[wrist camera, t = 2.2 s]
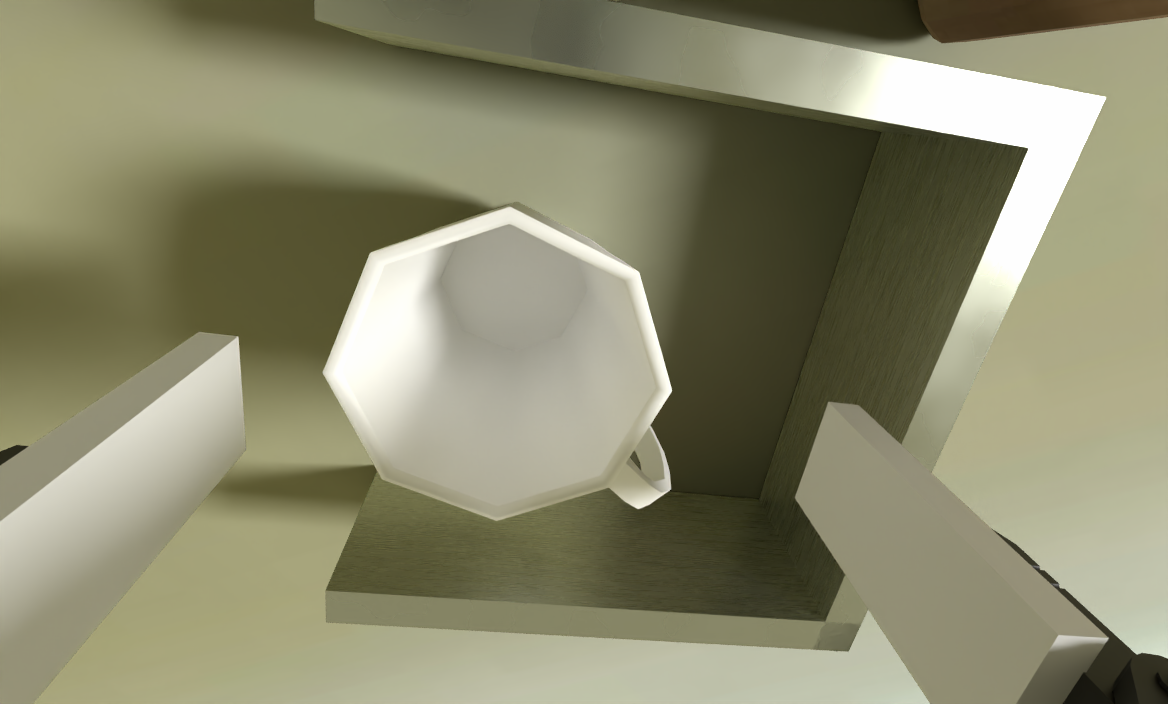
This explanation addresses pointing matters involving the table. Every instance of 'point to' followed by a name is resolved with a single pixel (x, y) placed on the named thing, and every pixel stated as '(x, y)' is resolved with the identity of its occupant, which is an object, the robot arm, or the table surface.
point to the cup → (504, 367)
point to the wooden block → (1028, 16)
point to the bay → (833, 363)
